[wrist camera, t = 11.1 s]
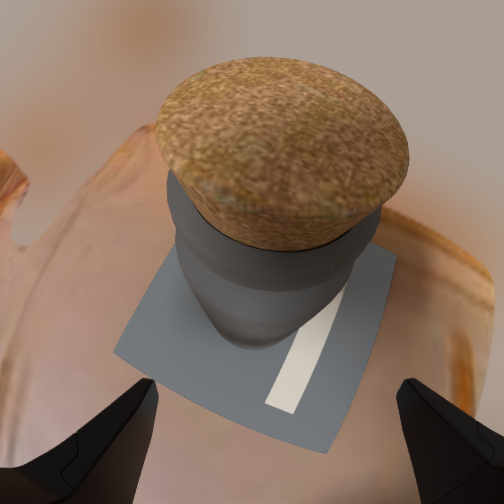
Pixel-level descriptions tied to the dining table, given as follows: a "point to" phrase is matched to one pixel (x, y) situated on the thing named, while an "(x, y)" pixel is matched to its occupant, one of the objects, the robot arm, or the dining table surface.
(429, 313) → the dining table surface
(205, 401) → the pad
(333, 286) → the bottle
